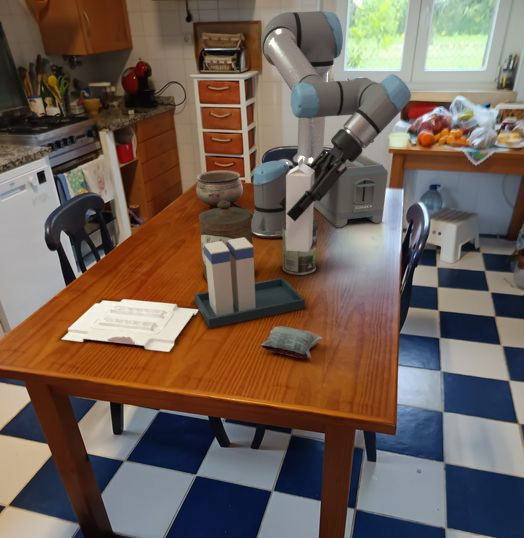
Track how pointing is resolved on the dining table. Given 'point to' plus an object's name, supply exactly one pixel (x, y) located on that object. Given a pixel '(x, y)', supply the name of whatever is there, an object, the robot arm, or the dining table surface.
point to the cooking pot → (219, 187)
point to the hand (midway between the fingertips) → (286, 212)
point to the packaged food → (291, 341)
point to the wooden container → (224, 226)
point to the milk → (303, 226)
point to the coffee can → (300, 255)
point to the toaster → (356, 193)
